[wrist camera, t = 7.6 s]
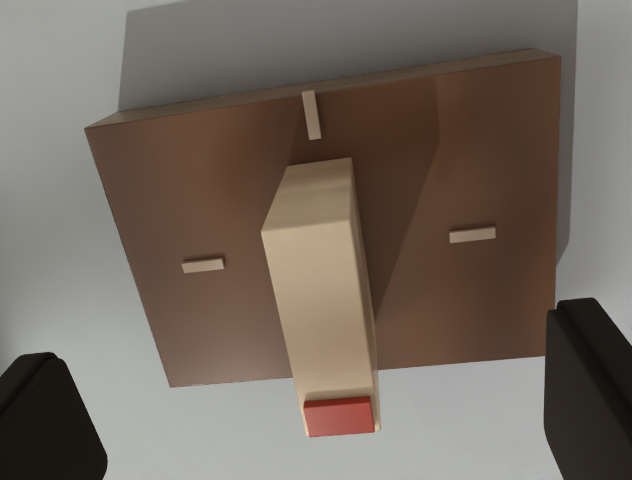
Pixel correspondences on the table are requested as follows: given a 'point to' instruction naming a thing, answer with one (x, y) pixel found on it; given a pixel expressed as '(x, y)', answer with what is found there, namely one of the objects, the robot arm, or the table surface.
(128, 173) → the panel
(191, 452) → the table surface
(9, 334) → the table surface
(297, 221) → the knob
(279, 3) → the table surface
